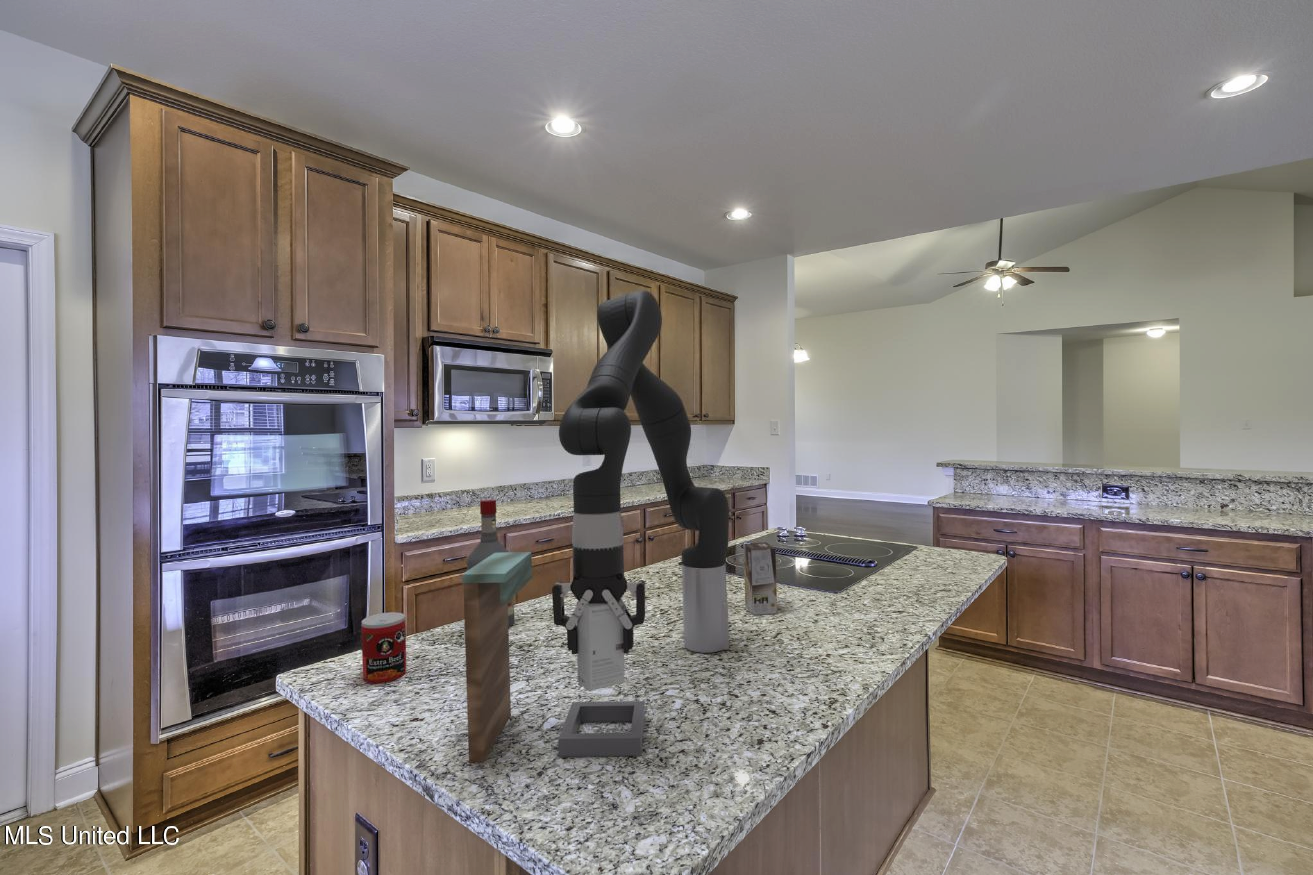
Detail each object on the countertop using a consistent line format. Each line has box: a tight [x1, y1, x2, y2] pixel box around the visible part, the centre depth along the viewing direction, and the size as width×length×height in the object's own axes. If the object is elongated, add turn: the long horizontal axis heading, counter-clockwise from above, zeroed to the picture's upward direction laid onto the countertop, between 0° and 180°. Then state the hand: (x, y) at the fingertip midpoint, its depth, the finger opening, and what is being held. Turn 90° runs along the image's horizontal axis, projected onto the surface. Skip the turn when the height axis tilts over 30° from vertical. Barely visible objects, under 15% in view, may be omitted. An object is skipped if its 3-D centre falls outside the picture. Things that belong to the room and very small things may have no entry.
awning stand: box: [461, 551, 533, 764], centre depth 90 cm, size 6×15×26 cm, turn 178°
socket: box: [557, 700, 646, 758], centre depth 89 cm, size 12×12×2 cm
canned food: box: [360, 611, 408, 684], centre depth 115 cm, size 8×8×11 cm
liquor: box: [466, 499, 516, 628], centre depth 142 cm, size 9×9×30 cm
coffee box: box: [742, 541, 778, 616], centre depth 150 cm, size 9×6×16 cm
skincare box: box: [576, 600, 626, 692], centre depth 89 cm, size 6×4×12 cm
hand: (600, 652), depth 89 cm, fingers closed on skincare box, 7 cm apart
